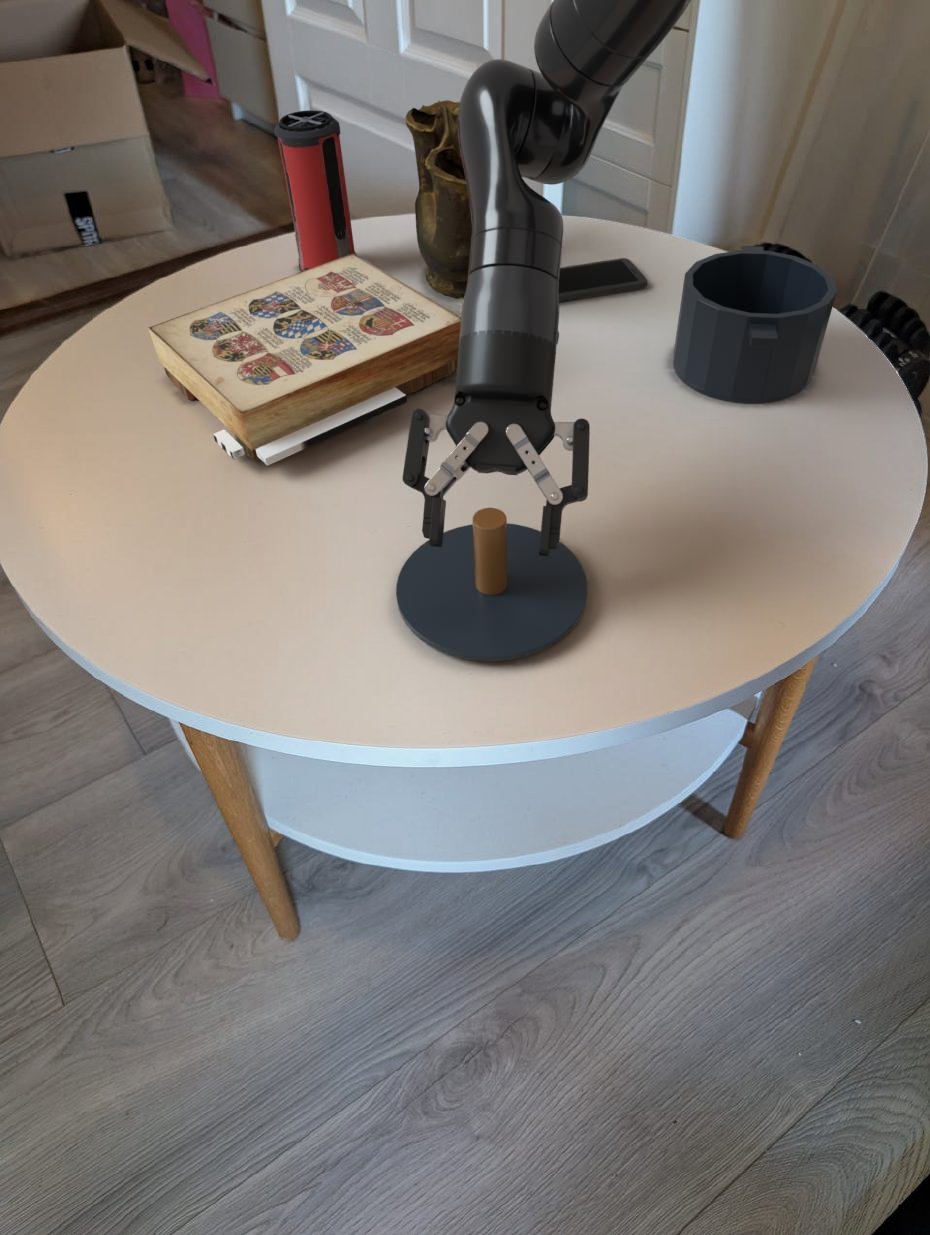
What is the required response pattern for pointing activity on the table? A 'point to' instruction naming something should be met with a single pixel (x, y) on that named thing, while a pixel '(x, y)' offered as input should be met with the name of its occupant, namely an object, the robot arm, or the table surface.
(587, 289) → the cell phone
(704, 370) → the pot
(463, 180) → the pottery vessel
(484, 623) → the lid
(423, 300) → the book
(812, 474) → the table surface
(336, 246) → the speaker
